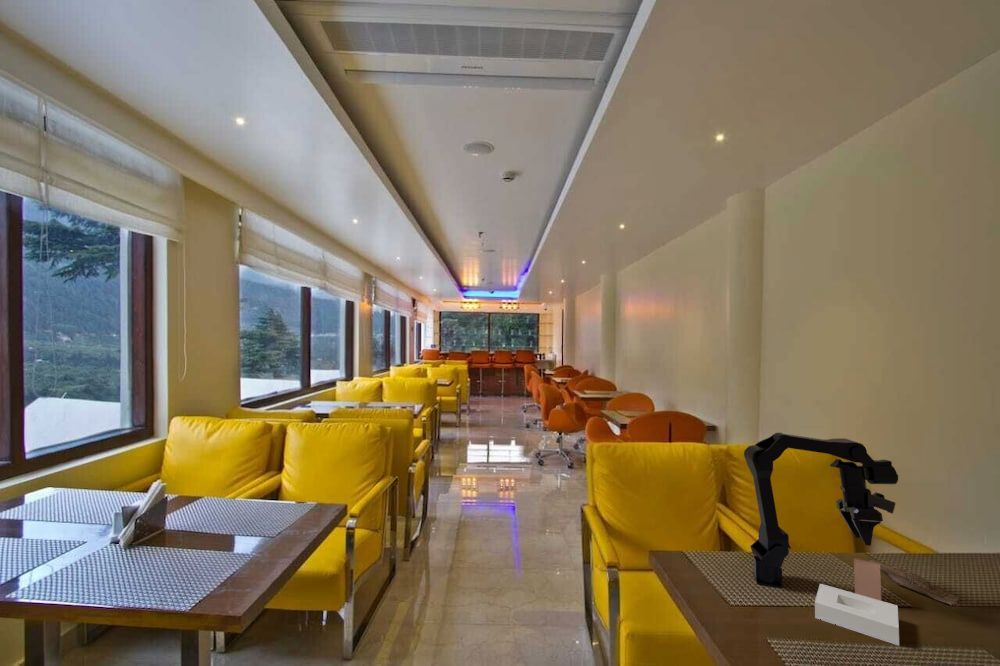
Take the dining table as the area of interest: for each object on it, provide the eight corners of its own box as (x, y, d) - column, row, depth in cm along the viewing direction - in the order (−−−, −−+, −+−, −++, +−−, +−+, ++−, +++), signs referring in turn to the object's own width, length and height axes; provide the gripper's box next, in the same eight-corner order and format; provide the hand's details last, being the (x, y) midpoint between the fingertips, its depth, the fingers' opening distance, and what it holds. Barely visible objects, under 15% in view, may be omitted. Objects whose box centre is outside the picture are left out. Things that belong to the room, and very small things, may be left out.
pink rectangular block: (855, 598, 121) (853, 561, 122) (855, 593, 124) (854, 557, 124) (881, 606, 118) (880, 568, 118) (881, 601, 120) (880, 564, 120)
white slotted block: (815, 618, 112) (814, 602, 113) (820, 598, 121) (819, 583, 122) (899, 645, 102) (898, 628, 102) (898, 621, 111) (897, 605, 111)
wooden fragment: (973, 607, 117) (973, 603, 117) (931, 607, 118) (931, 603, 118) (891, 561, 143) (891, 558, 143) (856, 561, 143) (856, 558, 143)
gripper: (901, 489, 116) (913, 553, 113) (877, 481, 132) (886, 536, 129) (849, 487, 120) (859, 548, 117) (832, 479, 137) (840, 533, 134)
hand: (862, 541), depth 124 cm, fingers open, 9 cm apart
